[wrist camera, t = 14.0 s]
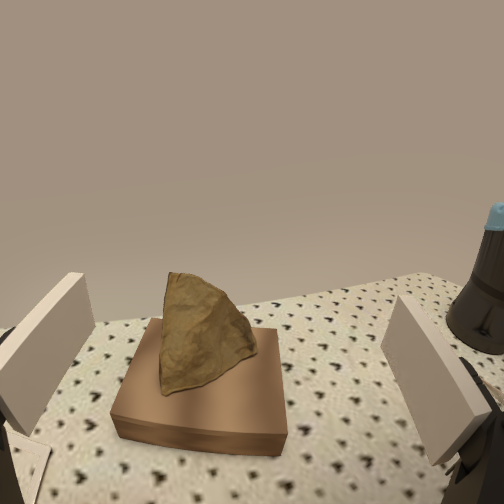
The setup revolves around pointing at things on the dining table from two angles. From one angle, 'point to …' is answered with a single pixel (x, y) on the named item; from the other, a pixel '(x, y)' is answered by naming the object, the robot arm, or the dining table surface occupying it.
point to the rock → (199, 334)
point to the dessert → (43, 455)
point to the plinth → (206, 403)
